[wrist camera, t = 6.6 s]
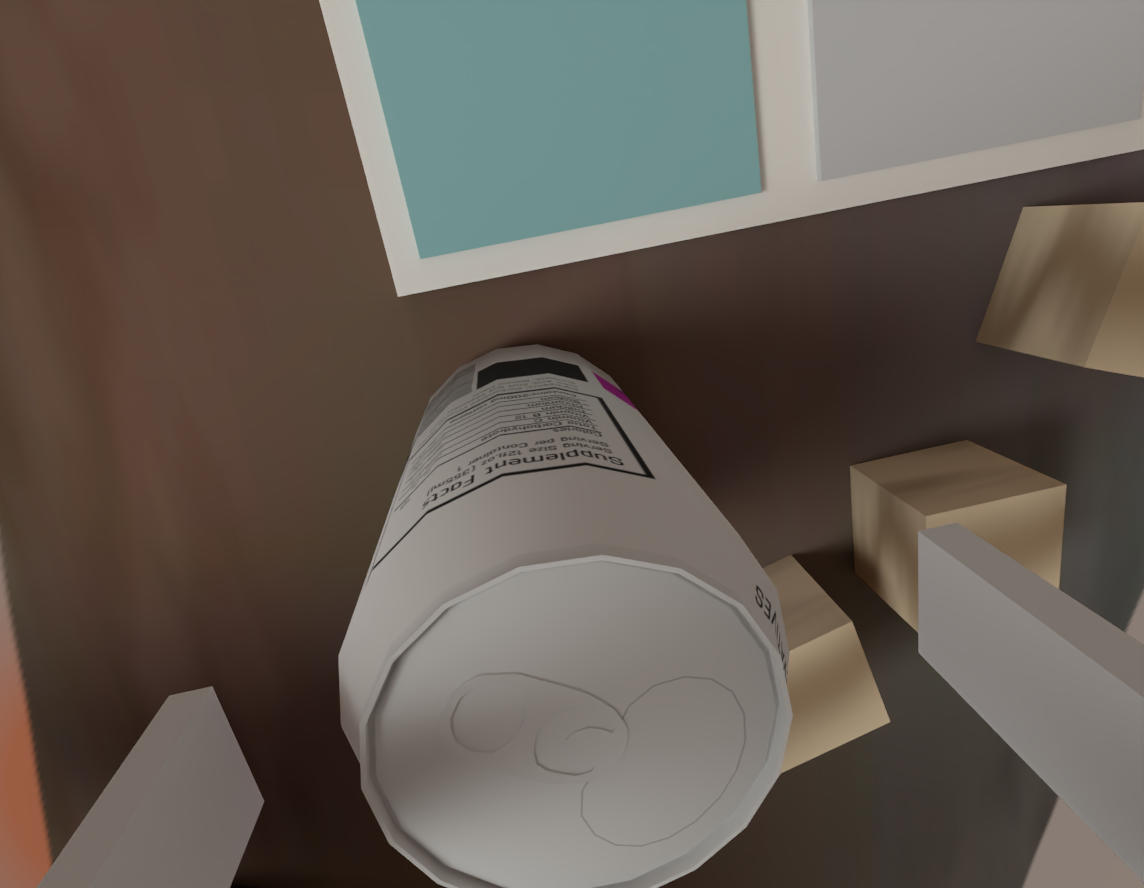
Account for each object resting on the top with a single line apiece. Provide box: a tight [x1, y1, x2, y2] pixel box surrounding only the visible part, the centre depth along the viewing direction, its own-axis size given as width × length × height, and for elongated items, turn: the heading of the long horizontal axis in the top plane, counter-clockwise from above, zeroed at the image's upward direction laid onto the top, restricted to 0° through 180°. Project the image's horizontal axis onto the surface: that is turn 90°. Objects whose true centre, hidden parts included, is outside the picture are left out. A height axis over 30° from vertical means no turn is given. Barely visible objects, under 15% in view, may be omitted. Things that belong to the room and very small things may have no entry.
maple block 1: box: [763, 555, 890, 774], centre depth 26 cm, size 5×5×5 cm
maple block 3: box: [976, 202, 1144, 377], centre depth 23 cm, size 5×5×5 cm
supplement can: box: [338, 344, 793, 888], centre depth 18 cm, size 8×8×15 cm
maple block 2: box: [850, 440, 1067, 632], centre depth 25 cm, size 5×5×5 cm
